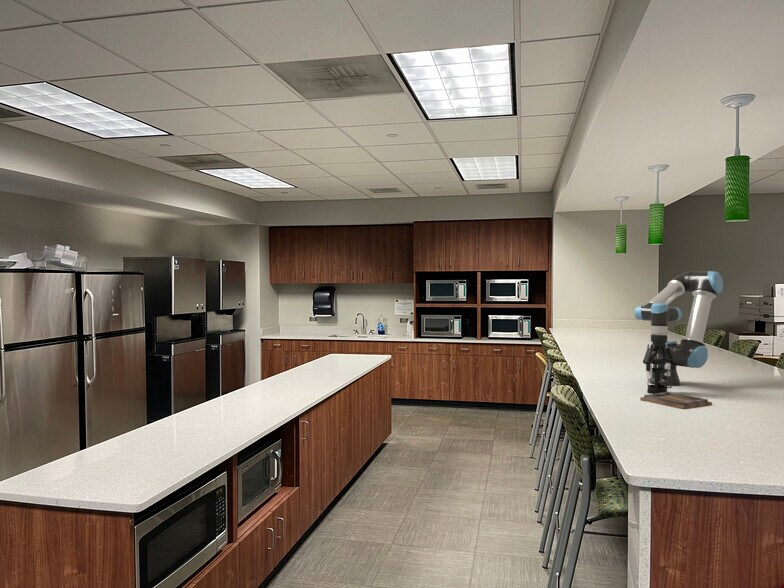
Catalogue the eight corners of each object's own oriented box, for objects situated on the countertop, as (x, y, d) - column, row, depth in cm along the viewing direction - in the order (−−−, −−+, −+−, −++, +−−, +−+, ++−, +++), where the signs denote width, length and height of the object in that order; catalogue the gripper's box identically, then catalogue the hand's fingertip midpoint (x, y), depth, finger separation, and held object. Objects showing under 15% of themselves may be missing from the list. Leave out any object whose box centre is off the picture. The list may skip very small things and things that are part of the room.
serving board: (668, 396, 280) (668, 391, 280) (711, 404, 260) (712, 399, 260) (640, 400, 270) (640, 394, 270) (683, 409, 251) (683, 403, 251)
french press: (644, 393, 287) (645, 347, 287) (646, 390, 295) (647, 345, 295) (670, 395, 281) (671, 348, 281) (672, 392, 289) (672, 346, 289)
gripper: (668, 333, 297) (668, 374, 297) (635, 334, 285) (634, 377, 285) (682, 334, 290) (681, 376, 290) (648, 335, 279) (647, 379, 279)
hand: (658, 376), depth 288 cm, fingers open, 13 cm apart
